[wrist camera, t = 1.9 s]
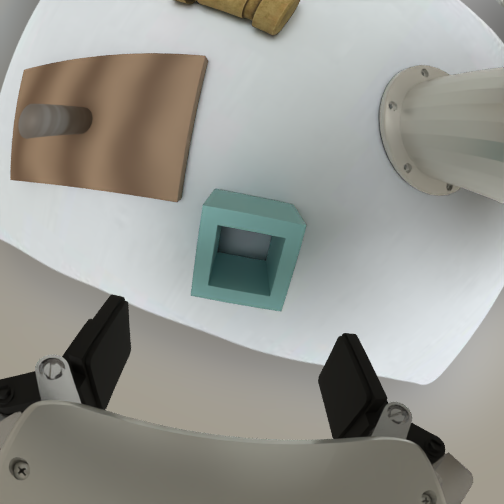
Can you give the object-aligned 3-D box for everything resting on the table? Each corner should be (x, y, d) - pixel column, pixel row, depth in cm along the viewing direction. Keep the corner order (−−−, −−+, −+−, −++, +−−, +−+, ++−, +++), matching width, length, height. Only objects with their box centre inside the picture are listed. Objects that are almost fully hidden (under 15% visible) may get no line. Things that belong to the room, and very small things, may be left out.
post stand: (208, 60, 18) (185, 21, 10) (181, 198, 23) (146, 229, 15) (32, 71, 16) (-22, 65, 9) (19, 177, 21) (-36, 196, 13)
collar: (293, 204, 23) (306, 225, 17) (275, 273, 25) (281, 311, 20) (214, 188, 22) (202, 205, 17) (203, 260, 25) (190, 295, 19)
